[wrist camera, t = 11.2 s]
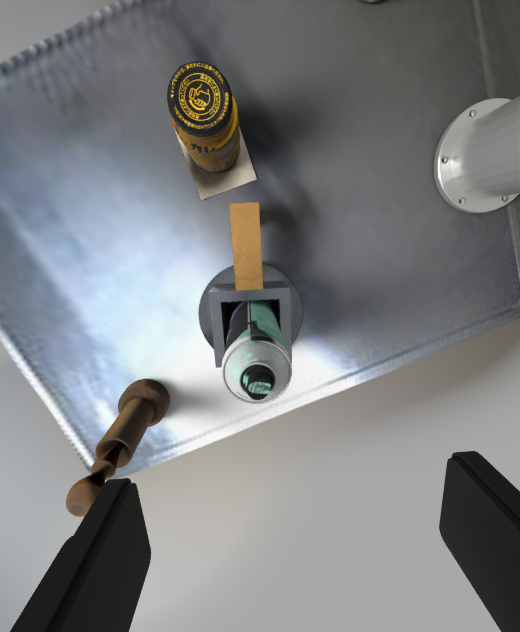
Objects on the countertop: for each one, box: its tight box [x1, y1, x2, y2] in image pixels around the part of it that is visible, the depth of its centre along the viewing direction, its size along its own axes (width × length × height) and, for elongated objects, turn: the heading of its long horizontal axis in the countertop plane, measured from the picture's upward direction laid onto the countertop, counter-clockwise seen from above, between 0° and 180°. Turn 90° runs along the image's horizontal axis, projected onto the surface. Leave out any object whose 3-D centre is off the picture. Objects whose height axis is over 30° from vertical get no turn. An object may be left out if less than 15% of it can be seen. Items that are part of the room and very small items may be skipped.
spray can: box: [222, 300, 292, 404], centre depth 29 cm, size 6×6×20 cm
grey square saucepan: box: [199, 202, 303, 367], centre depth 35 cm, size 14×20×7 cm
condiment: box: [167, 61, 257, 200], centre depth 29 cm, size 7×8×12 cm
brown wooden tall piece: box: [66, 380, 170, 517], centre depth 34 cm, size 7×6×18 cm
